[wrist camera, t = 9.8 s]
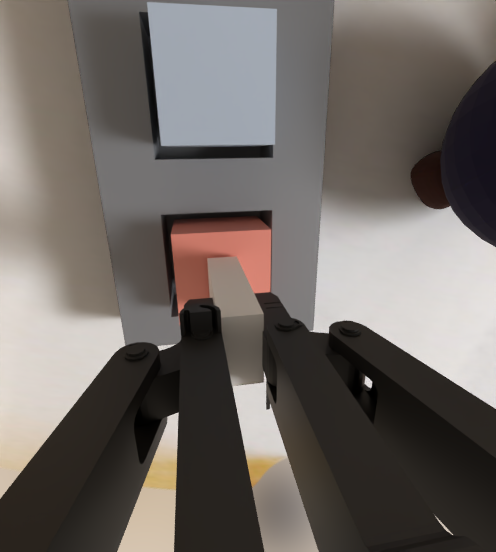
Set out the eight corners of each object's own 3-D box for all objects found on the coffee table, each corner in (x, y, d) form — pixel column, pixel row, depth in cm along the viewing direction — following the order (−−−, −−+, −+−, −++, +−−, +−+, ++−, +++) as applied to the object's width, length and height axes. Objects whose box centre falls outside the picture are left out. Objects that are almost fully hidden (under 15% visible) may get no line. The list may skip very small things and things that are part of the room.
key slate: (156, 36, 16) (146, 2, 12) (257, 40, 17) (276, 8, 13) (166, 147, 18) (161, 145, 14) (258, 146, 18) (275, 144, 15)
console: (48, -267, 14) (-2, -416, 10) (316, -222, 16) (355, -336, 12) (135, 318, 24) (126, 349, 20) (295, 304, 26) (313, 330, 22)
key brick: (174, 219, 20) (170, 234, 16) (256, 216, 20) (271, 229, 17) (181, 296, 21) (179, 325, 18) (256, 290, 22) (270, 317, 18)
